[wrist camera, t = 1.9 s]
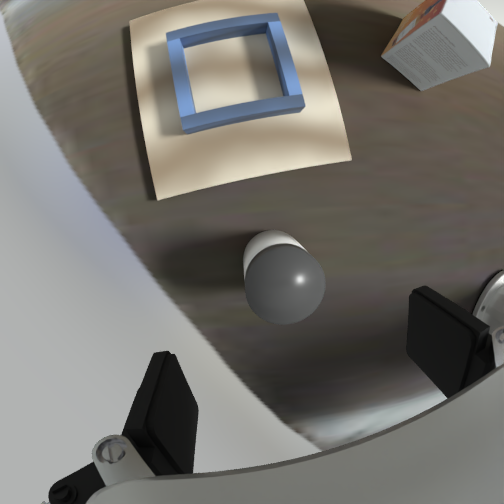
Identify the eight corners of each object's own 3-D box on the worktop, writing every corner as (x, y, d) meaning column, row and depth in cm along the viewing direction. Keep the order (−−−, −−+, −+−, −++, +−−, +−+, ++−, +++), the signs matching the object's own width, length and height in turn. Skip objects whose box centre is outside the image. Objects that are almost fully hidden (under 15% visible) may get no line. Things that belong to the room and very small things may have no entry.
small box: (402, 18, 19) (454, -24, 8) (439, 51, 19) (499, 22, 9) (378, 57, 20) (439, 11, 10) (420, 93, 21) (491, 67, 11)
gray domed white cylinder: (305, 279, 25) (329, 314, 18) (250, 292, 25) (254, 331, 18) (296, 224, 23) (319, 240, 17) (237, 237, 23) (237, 258, 17)
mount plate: (347, 160, 22) (361, 158, 19) (160, 199, 22) (149, 201, 19) (297, -5, 18) (303, -22, 15) (132, 25, 18) (122, 11, 15)
